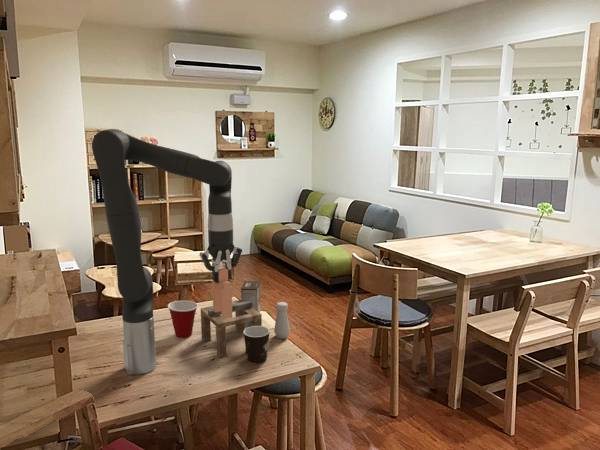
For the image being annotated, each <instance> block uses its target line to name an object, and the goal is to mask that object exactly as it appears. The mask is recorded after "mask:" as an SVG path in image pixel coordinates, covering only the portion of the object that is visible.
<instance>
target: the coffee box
mask: <svg viewBox="0 0 600 450" xmlns="http://www.w3.org/2000/svg"><path fill="white" fill-rule="evenodd" d="M240 293H241V300H242V301H244V302H246V301H251V302H252V308H253V309H255V310H256V311H258V312H259V313H261V281H260V280H245V281H244V280H243V283H242V287H241V291H240ZM244 315H245V314H244ZM251 326H252V321H248V322H245V329H246V328H248V327H251Z"/></svg>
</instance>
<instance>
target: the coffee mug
mask: <svg viewBox="0 0 600 450" xmlns="http://www.w3.org/2000/svg"><path fill="white" fill-rule="evenodd" d="M270 332H271V330H270V329H269V328H268V327H266V326H263V325H262V326H251V327H248V328H245V330H244V331H243V337H244V338H243V340H244V347H245V354H246V359H247V362H249V364H254V365H258V364H263V363H265V362H266V361H267V359H268V352H269V351H268V349H269V342H270V341H269V340H270Z"/></svg>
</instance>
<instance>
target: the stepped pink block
mask: <svg viewBox="0 0 600 450" xmlns="http://www.w3.org/2000/svg"><path fill="white" fill-rule="evenodd" d="M218 274H219V283H215V282H214V281H213V280H212V284H211V285H212V306H213V311H214V312H220V311H221V318H222V319H223V320H224V319H229V318H233V312H232V302H233V287H232V286H231V282H230V281H227V280H228V269H227V268H225V266H221V267H219V268H218Z"/></svg>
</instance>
